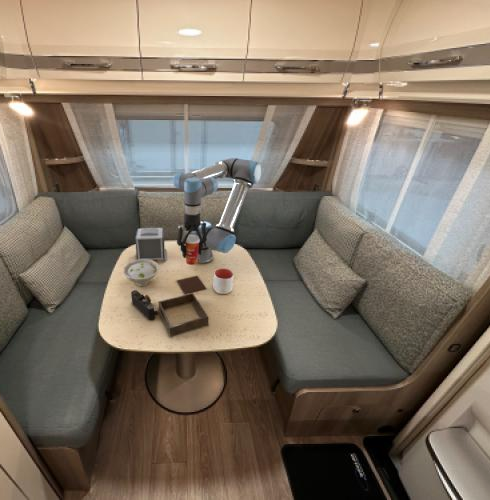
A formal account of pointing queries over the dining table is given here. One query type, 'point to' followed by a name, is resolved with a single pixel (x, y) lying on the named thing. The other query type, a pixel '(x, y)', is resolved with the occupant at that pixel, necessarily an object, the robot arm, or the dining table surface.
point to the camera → (143, 305)
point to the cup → (223, 280)
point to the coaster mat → (191, 284)
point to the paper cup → (192, 249)
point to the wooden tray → (186, 325)
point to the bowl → (141, 271)
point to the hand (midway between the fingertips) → (191, 254)
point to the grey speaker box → (150, 244)
